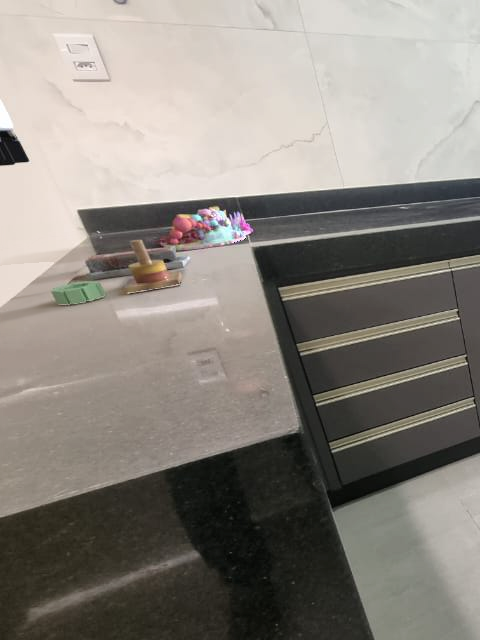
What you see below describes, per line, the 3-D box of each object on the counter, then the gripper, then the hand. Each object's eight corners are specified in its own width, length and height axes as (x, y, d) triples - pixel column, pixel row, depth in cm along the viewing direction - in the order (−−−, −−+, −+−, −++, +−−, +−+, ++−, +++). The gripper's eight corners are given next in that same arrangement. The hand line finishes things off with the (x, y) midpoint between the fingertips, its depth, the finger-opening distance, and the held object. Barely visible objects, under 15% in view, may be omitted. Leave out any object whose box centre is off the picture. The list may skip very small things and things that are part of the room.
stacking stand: (126, 295, 111) (103, 247, 106) (132, 285, 117) (110, 240, 113) (180, 286, 115) (160, 240, 111) (182, 277, 122) (164, 233, 118)
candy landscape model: (147, 244, 158) (133, 213, 154) (236, 229, 175) (225, 200, 171) (177, 253, 145) (163, 219, 141) (270, 236, 162) (259, 205, 158)
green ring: (55, 308, 104) (47, 293, 103) (63, 299, 110) (55, 285, 108) (102, 300, 108) (95, 286, 107) (107, 292, 113) (101, 278, 112)
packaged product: (78, 261, 120) (91, 252, 128) (88, 281, 122) (101, 272, 130) (177, 248, 128) (183, 241, 136) (185, 267, 130) (191, 259, 138)
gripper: (-55, 66, 98) (-3, 163, 106) (-97, 57, 85) (-34, 168, 93) (2, 66, 102) (49, 160, 110) (-29, 57, 89) (26, 164, 97)
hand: (11, 164), depth 101 cm, fingers open, 9 cm apart
